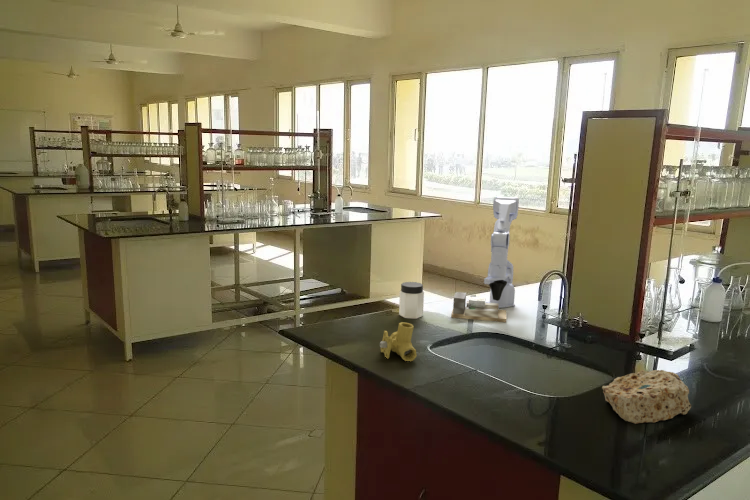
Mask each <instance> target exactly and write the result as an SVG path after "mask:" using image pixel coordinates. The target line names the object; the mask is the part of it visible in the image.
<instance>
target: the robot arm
mask: <svg viewBox="0 0 750 500" xmlns="http://www.w3.org/2000/svg"><path fill="white" fill-rule="evenodd" d="M492 203H493V204H492V210H493V214H492V215H493V218H494V219H496V220H495V222H494V227H493V232H492V233H491V235H490V252H491V256H490V262H489V263H488V270H487V276H486V277H485V278H483V284H485V285H488V286H489V288H490V291H489V301H485V303H498V304H499V307H498V309H503V308H510V307H515V306H516V304H515V297H516V296H515V295H516V294H515V293H516V290H515V286H514V284H513V283H514V282H513V281H514V264H513V263H512V262H510V260H508V256H509V255H508V253H509V246H510V241H511V239H510V237H511V236H510V235H511V234H510V231H511V230H510V229H511V225H512V222H513V221H514V220H516V219H517V217H518V215H519V204H520V198H519V197H518V196H497V195H495V196H494V197H493V202H492Z"/></svg>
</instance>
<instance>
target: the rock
mask: <svg viewBox="0 0 750 500" xmlns="http://www.w3.org/2000/svg"><path fill="white" fill-rule="evenodd" d="M601 390H603V391H602V393H603V394H604V399H605V402H608V403H609V404H610V406H611V407H612V410H613V411H614V412H615V413H616V414H618V416H619V417H620V418H621V419H623V420H624V421H625V422H628V423H632V424H635V425H636V424H644V423H653V424H654V423H656V422H659V421H666V420H670V419H673V418H674V417H676V416H677V415H683V416H684V415H687V414H688V412H689V411H690V410H691V408H692V404H691V403H690V401H689V395H690V389H689V387H688V386H687V384H685V383H684V381H682V379H681V378H680V377H679V375H678V374H677V373H675V372H673V371H666V370H664V369H660V370H659V369H655V370H651V371H645V370H644V369H643V370H640V371H638V372H635V373H633V372H632V373H628V374H626V375H623V376H617V377H616V378H614V379H613V381H612V382H610V383H609V384H608V385H602V387H601Z"/></svg>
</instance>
